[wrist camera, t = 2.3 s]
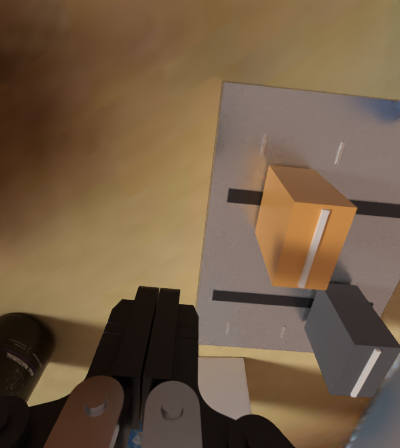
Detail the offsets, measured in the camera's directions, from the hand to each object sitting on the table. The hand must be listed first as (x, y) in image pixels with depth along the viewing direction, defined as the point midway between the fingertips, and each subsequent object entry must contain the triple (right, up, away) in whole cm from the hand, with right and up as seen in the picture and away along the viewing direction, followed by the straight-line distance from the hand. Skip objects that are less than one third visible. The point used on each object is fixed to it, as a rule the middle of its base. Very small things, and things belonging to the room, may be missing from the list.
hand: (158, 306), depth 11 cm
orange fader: (+7, +5, +9) cm, 13 cm away
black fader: (+12, -4, +14) cm, 19 cm away
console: (+10, +2, +14) cm, 17 cm away
